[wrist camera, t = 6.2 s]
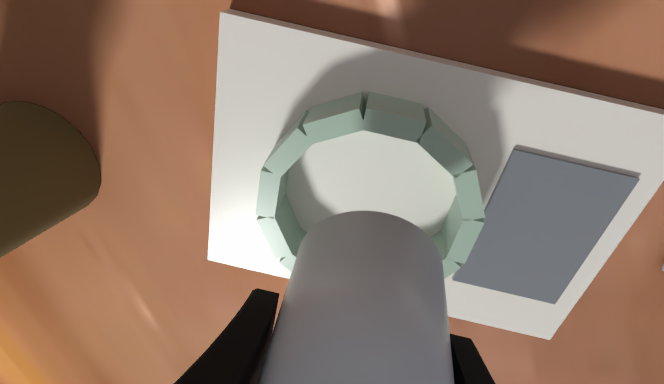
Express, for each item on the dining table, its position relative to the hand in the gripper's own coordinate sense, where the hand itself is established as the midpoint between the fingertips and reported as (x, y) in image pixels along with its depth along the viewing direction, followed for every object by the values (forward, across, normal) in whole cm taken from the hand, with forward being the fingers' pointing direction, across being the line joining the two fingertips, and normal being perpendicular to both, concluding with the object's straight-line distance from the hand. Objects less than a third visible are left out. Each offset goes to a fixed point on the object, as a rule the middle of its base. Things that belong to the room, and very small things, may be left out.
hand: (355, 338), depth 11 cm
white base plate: (+9, -2, 0) cm, 9 cm away
